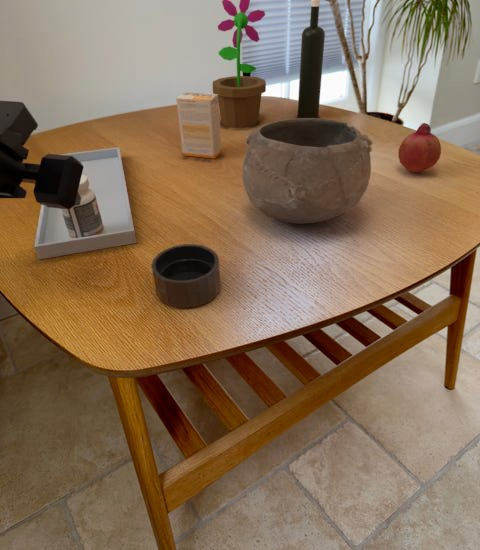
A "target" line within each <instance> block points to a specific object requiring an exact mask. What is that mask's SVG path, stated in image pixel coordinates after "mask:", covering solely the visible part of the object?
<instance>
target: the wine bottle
mask: <svg viewBox="0 0 480 550" xmlns="http://www.w3.org/2000/svg"><path fill="white" fill-rule="evenodd" d="M320 7H321V0H310V21H309V26H307V27H305V28H304V29H303V30H302V33H301V42H300V43H301V45H300V64H299V82H298V102H297V119H299V118H319V112H320V99H321V88H322V76H323V75H322V74H323V63H324V50H325V40H326V39H325V37H326V31H325V30H324V29H323V28H322V26H319V17H320V15H319V14H320Z"/></svg>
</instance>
